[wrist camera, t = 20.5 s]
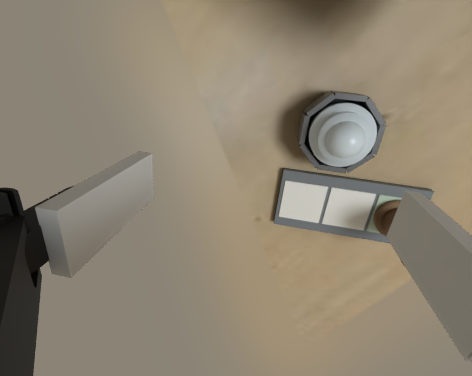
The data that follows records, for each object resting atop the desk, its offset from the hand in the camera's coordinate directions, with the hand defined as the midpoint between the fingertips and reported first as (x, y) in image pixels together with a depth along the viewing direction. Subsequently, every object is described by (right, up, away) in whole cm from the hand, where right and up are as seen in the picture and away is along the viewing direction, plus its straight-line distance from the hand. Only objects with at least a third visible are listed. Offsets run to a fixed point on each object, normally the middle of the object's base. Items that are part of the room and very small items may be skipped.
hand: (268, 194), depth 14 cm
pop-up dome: (+11, +7, +17) cm, 22 cm away
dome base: (+11, +8, +20) cm, 25 cm away
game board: (+15, -2, +25) cm, 29 cm away
